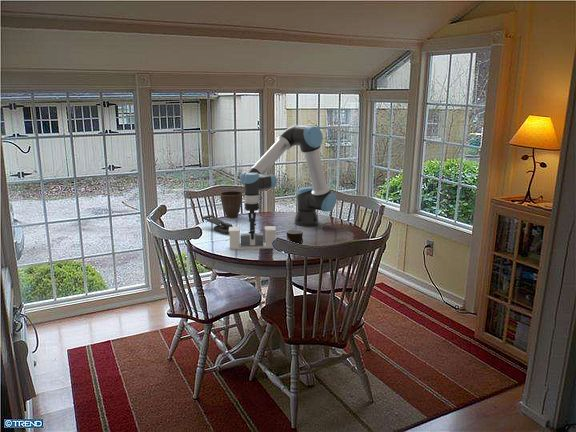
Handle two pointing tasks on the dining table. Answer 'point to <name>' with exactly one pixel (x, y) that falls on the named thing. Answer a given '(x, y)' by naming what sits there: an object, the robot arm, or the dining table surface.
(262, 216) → the dining table surface
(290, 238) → the coffee mug
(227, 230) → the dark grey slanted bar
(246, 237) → the grey rectangular block
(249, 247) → the white u-shaped cradle
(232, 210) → the plant pot
